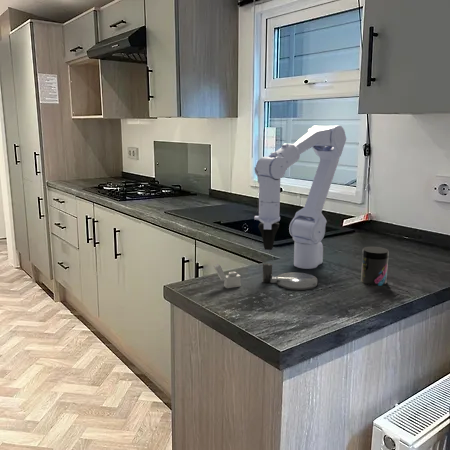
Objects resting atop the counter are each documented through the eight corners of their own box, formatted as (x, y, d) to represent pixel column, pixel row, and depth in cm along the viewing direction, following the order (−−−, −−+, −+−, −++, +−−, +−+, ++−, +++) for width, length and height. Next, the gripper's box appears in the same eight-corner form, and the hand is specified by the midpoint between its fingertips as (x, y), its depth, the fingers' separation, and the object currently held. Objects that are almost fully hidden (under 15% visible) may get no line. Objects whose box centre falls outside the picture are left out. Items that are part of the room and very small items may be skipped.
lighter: (238, 289, 124) (238, 260, 123) (240, 291, 123) (240, 262, 121) (213, 292, 122) (213, 263, 120) (216, 294, 120) (215, 265, 119)
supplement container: (370, 292, 122) (373, 254, 120) (355, 283, 128) (357, 247, 126) (391, 288, 124) (394, 251, 122) (375, 281, 130) (378, 245, 128)
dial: (316, 277, 129) (317, 260, 128) (318, 291, 119) (319, 273, 118) (263, 274, 132) (264, 258, 130) (261, 288, 121) (261, 270, 120)
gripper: (256, 196, 133) (256, 242, 136) (252, 205, 119) (251, 255, 122) (281, 197, 132) (280, 243, 135) (279, 206, 118) (278, 256, 121)
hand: (268, 249), depth 129 cm, fingers closed
